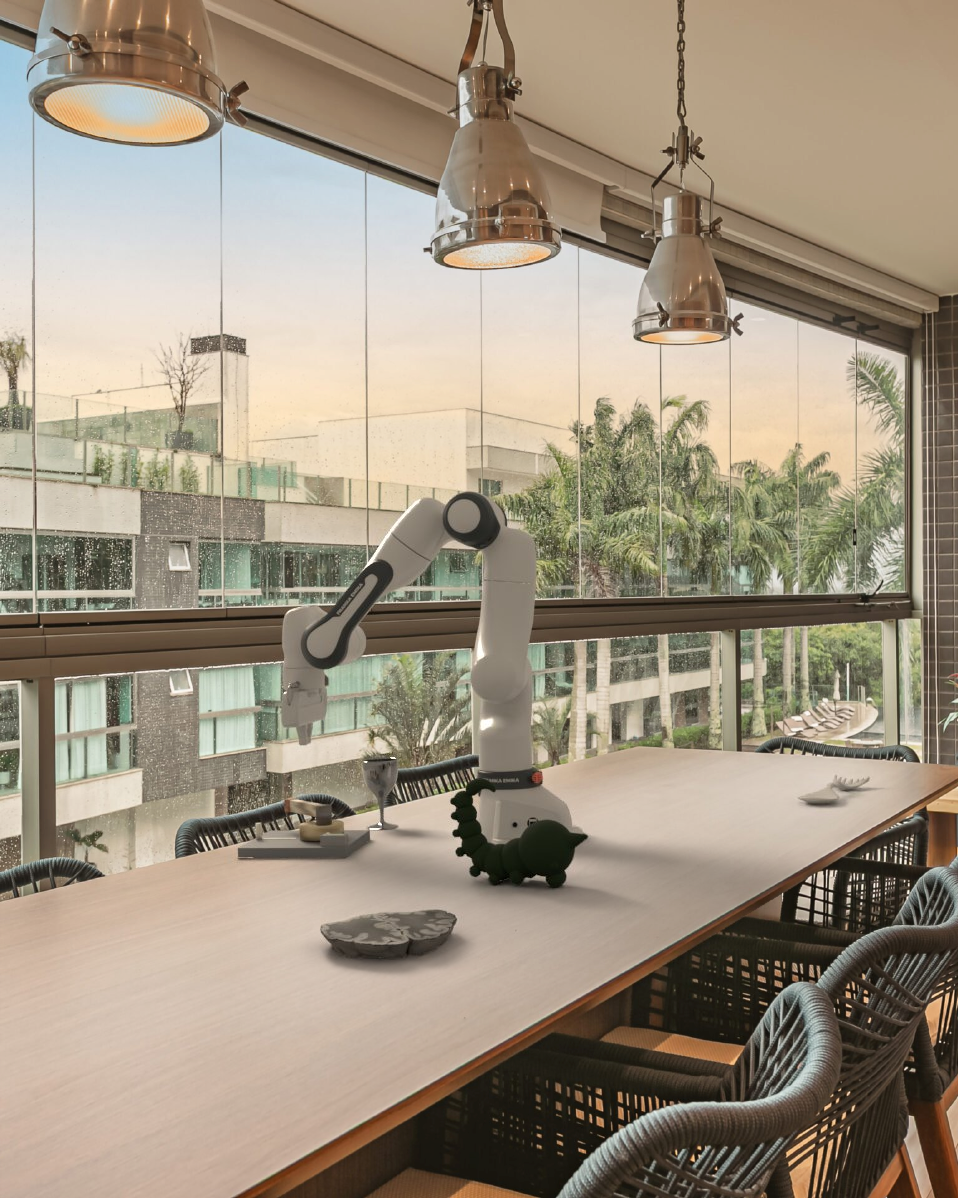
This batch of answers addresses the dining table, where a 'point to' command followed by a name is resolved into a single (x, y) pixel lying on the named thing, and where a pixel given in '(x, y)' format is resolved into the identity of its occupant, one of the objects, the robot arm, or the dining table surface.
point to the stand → (303, 844)
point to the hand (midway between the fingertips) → (305, 744)
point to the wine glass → (380, 783)
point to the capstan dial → (323, 819)
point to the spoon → (831, 791)
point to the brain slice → (390, 933)
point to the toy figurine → (513, 845)
